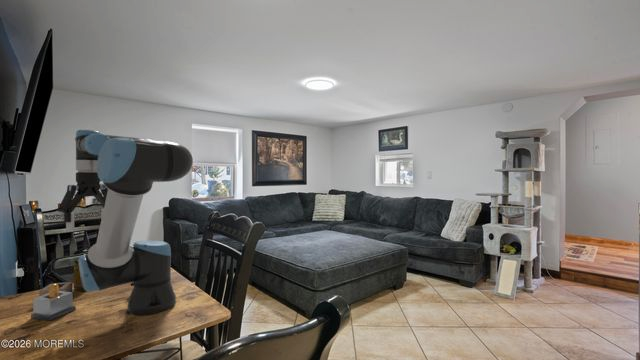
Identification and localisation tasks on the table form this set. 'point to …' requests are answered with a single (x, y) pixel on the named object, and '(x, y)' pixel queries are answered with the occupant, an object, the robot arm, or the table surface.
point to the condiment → (77, 278)
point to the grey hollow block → (52, 303)
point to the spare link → (62, 287)
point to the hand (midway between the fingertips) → (88, 227)
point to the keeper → (52, 293)
